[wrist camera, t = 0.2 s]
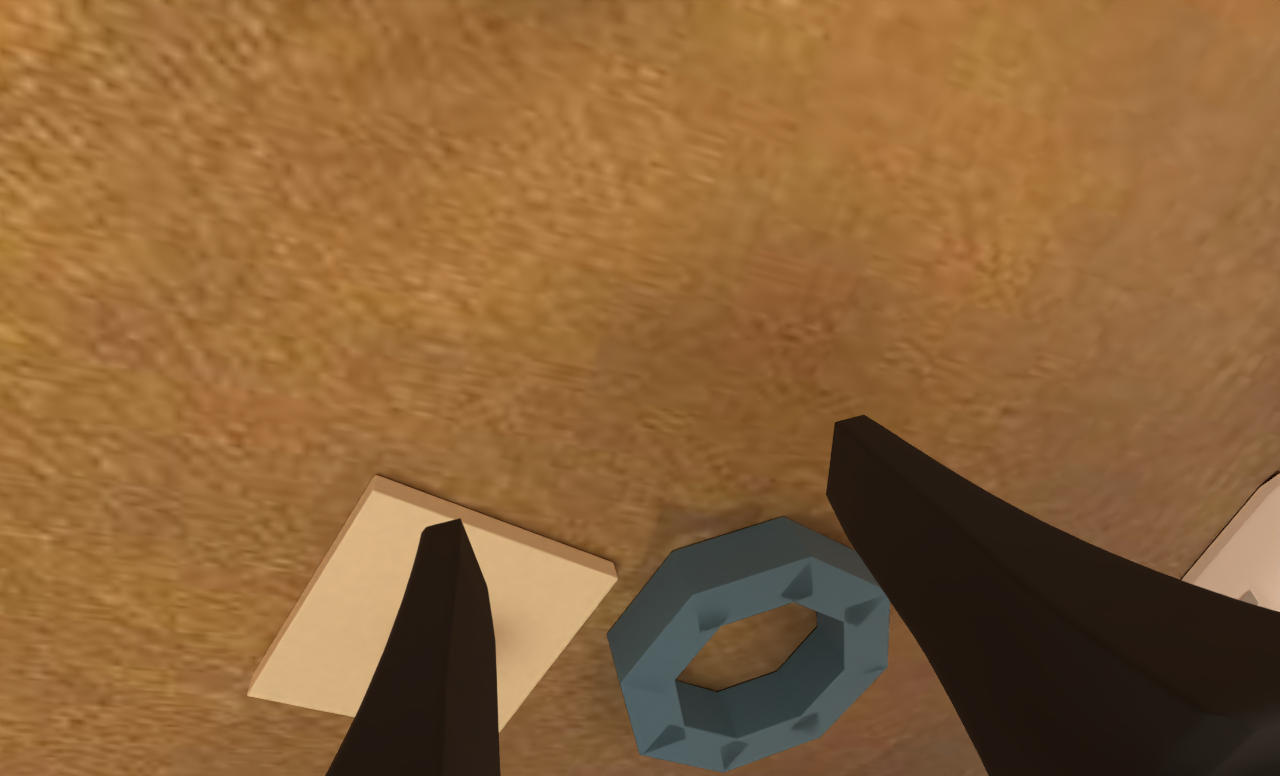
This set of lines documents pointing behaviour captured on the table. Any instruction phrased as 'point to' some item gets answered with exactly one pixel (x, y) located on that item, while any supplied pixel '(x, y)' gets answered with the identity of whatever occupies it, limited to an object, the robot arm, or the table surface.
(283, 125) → the table surface
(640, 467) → the table surface
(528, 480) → the table surface
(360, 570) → the peg stand
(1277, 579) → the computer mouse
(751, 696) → the ring
